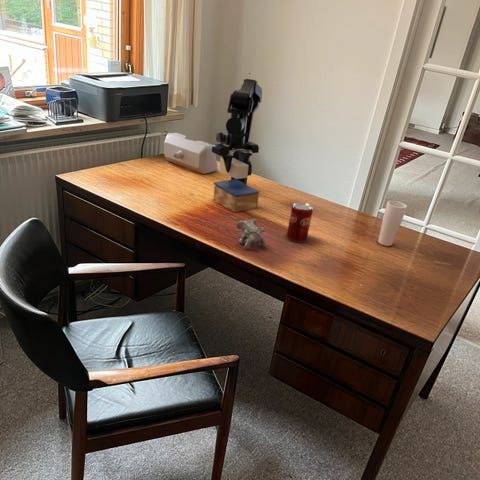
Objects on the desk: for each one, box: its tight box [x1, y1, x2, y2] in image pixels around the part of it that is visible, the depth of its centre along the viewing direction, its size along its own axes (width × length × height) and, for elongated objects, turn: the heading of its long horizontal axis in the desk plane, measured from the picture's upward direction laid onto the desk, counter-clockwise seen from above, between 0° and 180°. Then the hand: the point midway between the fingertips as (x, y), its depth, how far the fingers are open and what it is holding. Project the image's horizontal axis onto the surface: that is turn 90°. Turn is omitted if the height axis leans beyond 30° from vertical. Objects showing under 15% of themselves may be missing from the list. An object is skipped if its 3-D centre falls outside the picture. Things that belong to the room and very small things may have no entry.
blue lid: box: [213, 179, 260, 197], centre depth 186 cm, size 14×12×1 cm
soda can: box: [286, 201, 314, 243], centre depth 165 cm, size 7×7×12 cm
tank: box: [163, 132, 219, 175], centre depth 218 cm, size 25×16×12 cm, turn 52°
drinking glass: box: [377, 200, 408, 247], centre depth 169 cm, size 7×7×15 cm
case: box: [218, 157, 249, 179], centre depth 183 cm, size 11×5×5 cm, turn 38°
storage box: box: [212, 185, 260, 213], centre depth 188 cm, size 14×12×6 cm
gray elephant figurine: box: [236, 218, 266, 250], centre depth 158 cm, size 9×12×8 cm
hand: (233, 171), depth 184 cm, fingers closed on case, 5 cm apart
